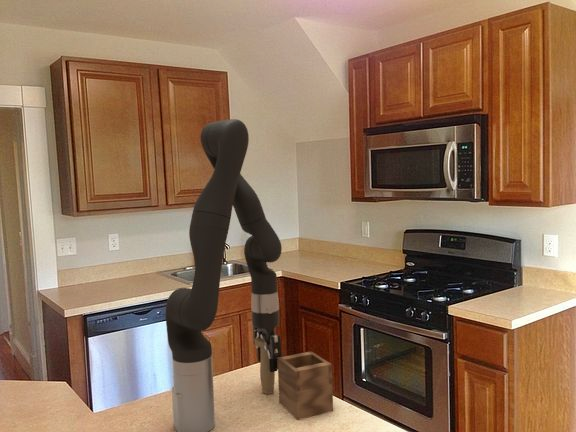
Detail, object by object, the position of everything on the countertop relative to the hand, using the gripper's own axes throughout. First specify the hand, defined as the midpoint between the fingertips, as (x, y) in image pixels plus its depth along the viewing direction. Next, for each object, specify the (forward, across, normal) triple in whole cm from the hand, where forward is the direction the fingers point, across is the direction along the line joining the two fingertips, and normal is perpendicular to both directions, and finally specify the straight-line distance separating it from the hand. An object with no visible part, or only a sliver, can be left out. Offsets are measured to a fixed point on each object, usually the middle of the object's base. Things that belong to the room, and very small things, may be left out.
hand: (267, 366), depth 139 cm
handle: (+7, 0, 0) cm, 7 cm away
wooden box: (+7, +13, +5) cm, 16 cm away
